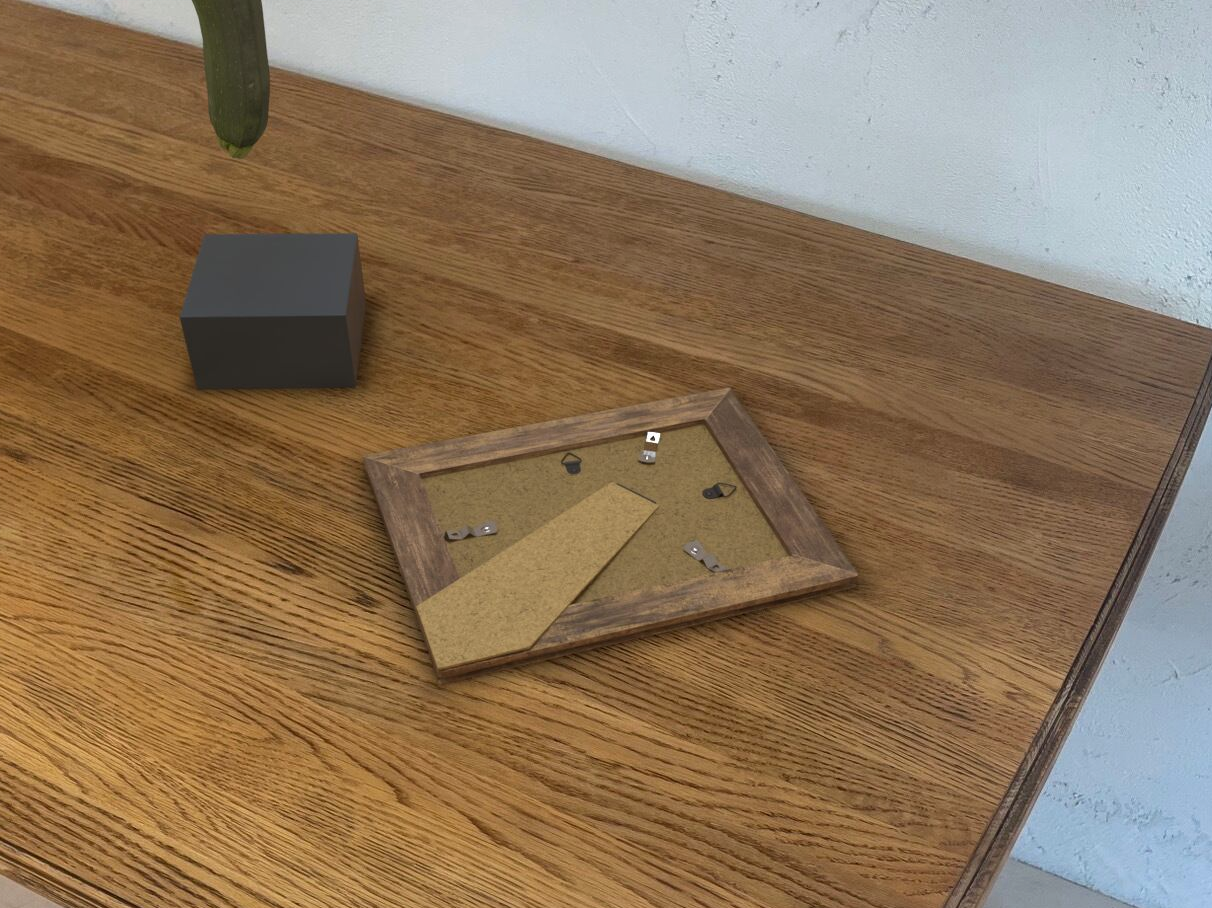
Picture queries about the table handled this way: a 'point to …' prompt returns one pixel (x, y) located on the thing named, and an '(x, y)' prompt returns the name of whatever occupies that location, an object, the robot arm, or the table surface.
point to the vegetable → (235, 71)
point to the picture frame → (597, 531)
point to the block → (275, 311)
